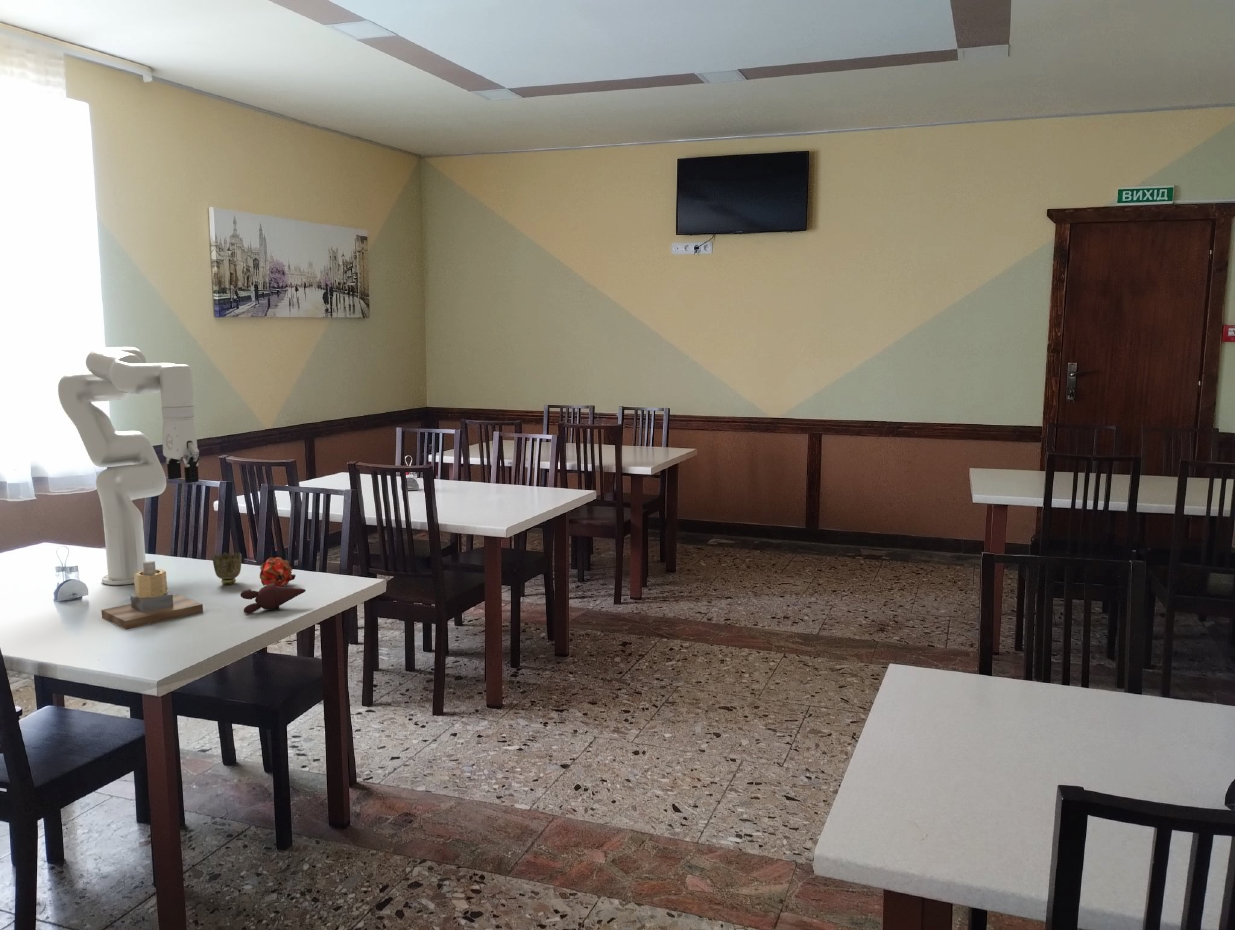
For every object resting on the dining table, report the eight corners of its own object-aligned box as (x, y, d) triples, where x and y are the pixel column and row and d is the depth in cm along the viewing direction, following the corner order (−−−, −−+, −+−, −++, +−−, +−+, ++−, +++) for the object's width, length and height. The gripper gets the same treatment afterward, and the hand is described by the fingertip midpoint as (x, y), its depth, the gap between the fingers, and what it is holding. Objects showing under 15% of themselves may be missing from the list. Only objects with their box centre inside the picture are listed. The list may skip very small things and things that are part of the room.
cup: (248, 580, 261) (246, 552, 260) (235, 587, 254) (233, 558, 252) (222, 580, 262) (220, 551, 260) (208, 587, 254) (206, 558, 253)
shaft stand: (101, 617, 227) (97, 564, 225) (177, 601, 240) (173, 551, 239) (125, 629, 218) (121, 574, 216) (203, 612, 231) (199, 559, 229)
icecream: (301, 576, 239) (238, 589, 233) (304, 575, 233) (240, 588, 226) (306, 603, 239) (243, 617, 233) (309, 603, 232) (245, 617, 226)
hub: (132, 595, 228) (130, 573, 227) (159, 589, 233) (157, 567, 232) (143, 600, 224) (141, 577, 223) (171, 594, 229) (169, 572, 228)
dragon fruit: (275, 586, 261) (284, 603, 251) (248, 572, 256) (256, 588, 246) (294, 560, 261) (303, 576, 251) (267, 546, 257) (275, 561, 247)
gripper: (148, 412, 242) (153, 479, 245) (178, 416, 231) (183, 485, 233) (178, 410, 248) (182, 475, 250) (209, 414, 237) (213, 482, 239)
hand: (183, 480), depth 242 cm, fingers open, 9 cm apart
